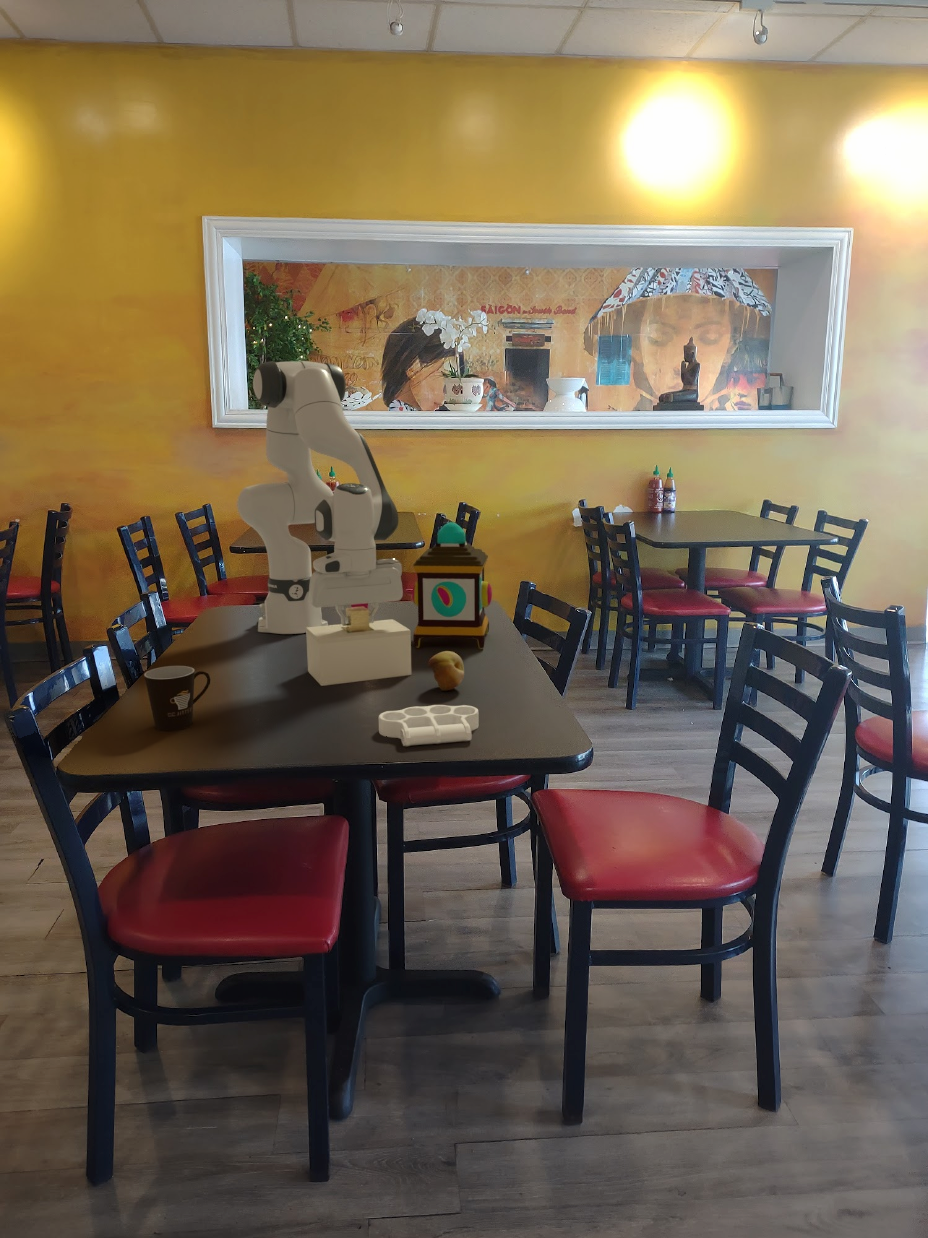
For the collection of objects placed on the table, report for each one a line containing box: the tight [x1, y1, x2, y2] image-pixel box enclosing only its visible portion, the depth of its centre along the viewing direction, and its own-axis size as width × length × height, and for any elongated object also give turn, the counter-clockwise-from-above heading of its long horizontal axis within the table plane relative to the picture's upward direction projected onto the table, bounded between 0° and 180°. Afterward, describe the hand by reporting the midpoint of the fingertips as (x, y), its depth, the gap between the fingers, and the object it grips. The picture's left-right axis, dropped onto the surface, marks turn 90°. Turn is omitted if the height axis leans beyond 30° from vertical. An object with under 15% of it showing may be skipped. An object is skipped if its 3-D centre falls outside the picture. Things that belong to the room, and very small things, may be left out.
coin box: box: [305, 618, 412, 687], centre depth 188 cm, size 12×20×10 cm, turn 113°
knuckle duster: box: [378, 704, 480, 747], centre depth 152 cm, size 3×18×15 cm
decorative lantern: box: [411, 521, 493, 650], centre depth 214 cm, size 20×20×30 cm
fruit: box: [427, 650, 465, 691], centre depth 176 cm, size 8×8×8 cm
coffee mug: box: [143, 665, 211, 732], centre depth 156 cm, size 12×9×10 cm
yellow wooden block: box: [345, 606, 370, 633], centre depth 186 cm, size 4×4×6 cm
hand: (357, 623), depth 186 cm, fingers closed on yellow wooden block, 4 cm apart
